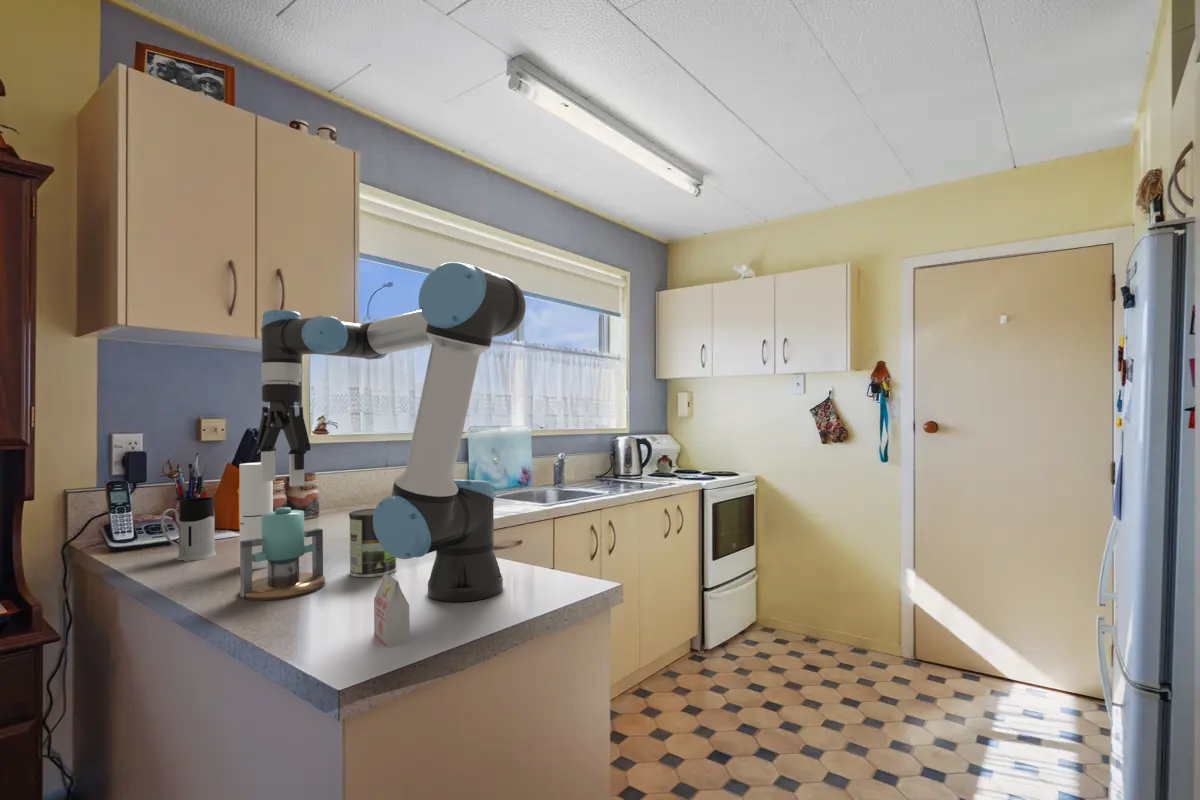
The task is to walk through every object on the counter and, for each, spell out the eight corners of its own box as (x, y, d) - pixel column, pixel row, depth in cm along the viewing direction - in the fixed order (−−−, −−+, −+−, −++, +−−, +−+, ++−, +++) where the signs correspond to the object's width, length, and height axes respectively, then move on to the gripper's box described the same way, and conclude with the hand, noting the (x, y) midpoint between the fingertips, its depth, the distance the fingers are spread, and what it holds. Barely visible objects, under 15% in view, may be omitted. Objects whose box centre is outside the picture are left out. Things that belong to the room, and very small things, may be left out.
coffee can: (404, 567, 147) (404, 508, 147) (381, 578, 137) (380, 515, 137) (366, 565, 149) (365, 507, 149) (340, 576, 139) (339, 514, 139)
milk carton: (396, 630, 105) (395, 571, 105) (409, 641, 99) (409, 579, 99) (374, 634, 103) (373, 574, 103) (386, 647, 97) (385, 583, 97)
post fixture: (339, 586, 131) (339, 532, 132) (259, 605, 119) (258, 546, 119) (304, 574, 142) (303, 524, 142) (226, 591, 129) (226, 536, 129)
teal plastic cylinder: (320, 552, 132) (320, 506, 133) (261, 564, 123) (261, 514, 123) (302, 548, 138) (302, 503, 138) (245, 558, 128) (244, 510, 128)
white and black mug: (224, 553, 164) (224, 497, 164) (175, 567, 150) (175, 505, 150) (198, 552, 166) (197, 496, 166) (147, 565, 152) (147, 504, 153)
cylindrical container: (259, 569, 146) (258, 464, 147) (232, 569, 148) (232, 464, 148) (279, 562, 153) (279, 462, 154) (254, 561, 155) (253, 462, 155)
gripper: (328, 382, 126) (328, 485, 126) (274, 385, 142) (274, 477, 141) (290, 381, 120) (291, 489, 120) (239, 384, 136) (239, 480, 136)
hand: (282, 483), depth 131 cm, fingers open, 13 cm apart
